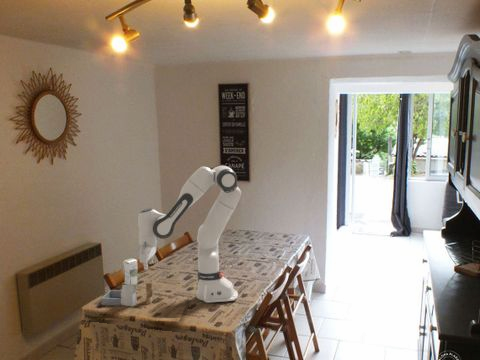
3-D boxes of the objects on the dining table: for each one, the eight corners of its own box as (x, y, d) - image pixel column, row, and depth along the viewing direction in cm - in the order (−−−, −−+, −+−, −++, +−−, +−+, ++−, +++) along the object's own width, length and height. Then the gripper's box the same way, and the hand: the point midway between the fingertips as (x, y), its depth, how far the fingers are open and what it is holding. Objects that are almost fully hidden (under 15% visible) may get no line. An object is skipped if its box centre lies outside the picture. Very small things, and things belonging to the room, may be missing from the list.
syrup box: (132, 281, 250) (131, 258, 249) (138, 283, 247) (137, 259, 245) (124, 284, 246) (123, 260, 245) (130, 286, 242) (129, 262, 241)
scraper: (154, 298, 224) (154, 280, 223) (151, 303, 217) (150, 284, 216) (149, 298, 224) (148, 280, 223) (145, 303, 217) (144, 284, 216)
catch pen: (127, 296, 227) (127, 290, 227) (120, 305, 216) (120, 298, 215) (109, 296, 228) (109, 290, 227) (101, 305, 216) (101, 298, 216)
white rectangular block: (132, 306, 214) (131, 287, 213) (121, 305, 216) (120, 286, 215) (136, 303, 217) (135, 284, 216) (125, 302, 219) (124, 283, 218)
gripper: (148, 245, 207) (149, 272, 208) (158, 235, 227) (159, 260, 229) (135, 245, 207) (136, 272, 209) (146, 235, 227) (147, 260, 229)
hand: (148, 266), depth 219 cm, fingers open, 8 cm apart
